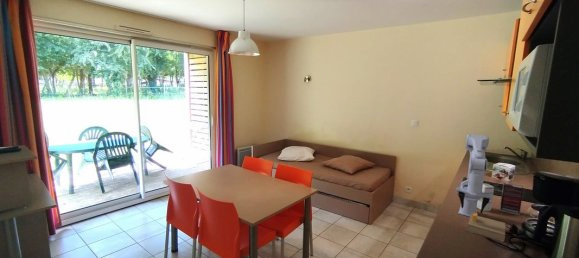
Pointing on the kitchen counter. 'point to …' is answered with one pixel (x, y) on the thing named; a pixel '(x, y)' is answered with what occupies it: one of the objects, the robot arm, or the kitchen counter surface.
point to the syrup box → (485, 189)
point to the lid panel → (487, 224)
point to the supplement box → (511, 198)
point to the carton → (486, 233)
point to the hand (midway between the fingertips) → (471, 209)
